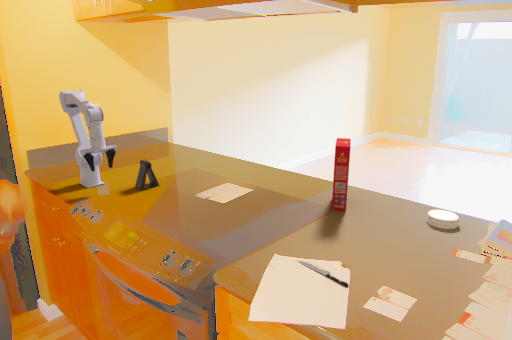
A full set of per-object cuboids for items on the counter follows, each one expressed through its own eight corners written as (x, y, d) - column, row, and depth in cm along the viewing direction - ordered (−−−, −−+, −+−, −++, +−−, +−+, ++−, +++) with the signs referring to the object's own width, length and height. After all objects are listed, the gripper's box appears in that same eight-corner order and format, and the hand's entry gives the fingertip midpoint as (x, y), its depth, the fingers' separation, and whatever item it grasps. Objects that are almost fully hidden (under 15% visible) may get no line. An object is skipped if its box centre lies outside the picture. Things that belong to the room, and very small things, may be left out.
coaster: (456, 232, 125) (457, 222, 124) (424, 225, 130) (425, 216, 129) (459, 222, 133) (460, 212, 132) (428, 215, 138) (430, 207, 137)
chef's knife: (298, 257, 110) (291, 260, 108) (298, 253, 110) (292, 256, 108) (353, 285, 97) (346, 288, 95) (354, 281, 96) (347, 284, 94)
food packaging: (345, 211, 142) (350, 146, 135) (331, 210, 143) (335, 146, 136) (346, 197, 156) (350, 138, 149) (333, 196, 157) (337, 138, 150)
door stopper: (140, 190, 165) (137, 164, 162) (135, 186, 169) (132, 161, 166) (159, 186, 170) (157, 160, 167) (154, 182, 175) (152, 157, 171)
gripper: (83, 140, 148) (88, 173, 151) (118, 135, 158) (122, 166, 161) (76, 139, 153) (81, 171, 156) (110, 134, 163) (115, 165, 166)
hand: (102, 169), depth 159 cm, fingers open, 7 cm apart
